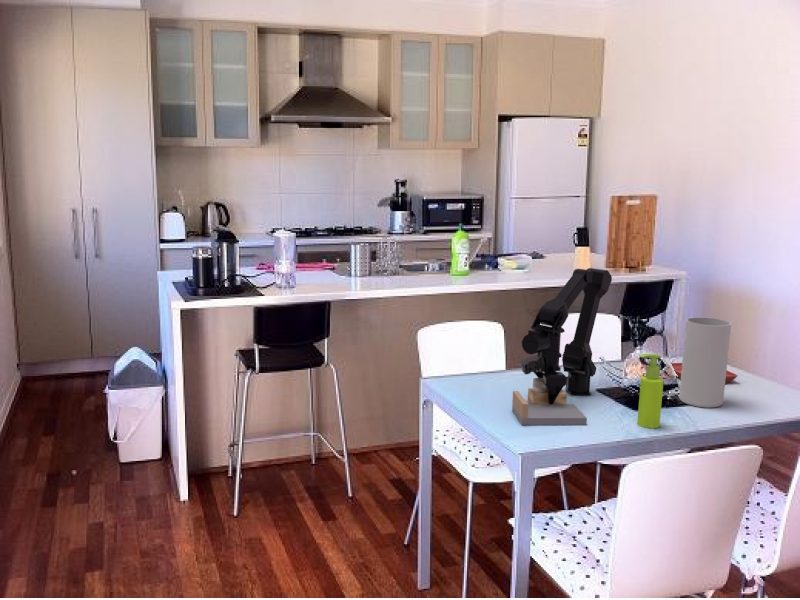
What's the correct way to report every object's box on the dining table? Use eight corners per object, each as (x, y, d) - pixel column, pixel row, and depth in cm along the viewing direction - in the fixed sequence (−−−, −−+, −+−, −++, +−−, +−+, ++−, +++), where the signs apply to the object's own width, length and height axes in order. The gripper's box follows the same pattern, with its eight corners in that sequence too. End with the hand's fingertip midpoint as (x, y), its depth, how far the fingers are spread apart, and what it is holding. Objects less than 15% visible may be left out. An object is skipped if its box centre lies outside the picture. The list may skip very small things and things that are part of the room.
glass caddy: (560, 400, 234) (561, 376, 233) (565, 407, 228) (567, 382, 227) (527, 401, 233) (528, 376, 232) (532, 407, 227) (534, 382, 226)
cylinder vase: (731, 404, 234) (740, 323, 229) (704, 410, 227) (713, 327, 223) (696, 393, 244) (704, 315, 240) (670, 399, 238) (677, 319, 233)
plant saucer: (660, 371, 270) (661, 362, 270) (707, 370, 274) (708, 361, 273) (687, 386, 253) (688, 377, 252) (738, 385, 256) (739, 375, 255)
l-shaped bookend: (573, 410, 224) (574, 390, 223) (586, 424, 213) (587, 403, 212) (512, 411, 223) (513, 390, 222) (521, 425, 211) (522, 404, 210)
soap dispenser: (630, 421, 217) (636, 351, 213) (654, 421, 217) (660, 351, 214) (638, 428, 211) (644, 357, 207) (663, 428, 211) (669, 357, 208)
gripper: (515, 341, 236) (513, 390, 239) (530, 356, 218) (527, 409, 221) (551, 341, 237) (548, 390, 240) (569, 356, 219) (566, 409, 222)
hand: (546, 399), depth 231 cm, fingers open, 8 cm apart
